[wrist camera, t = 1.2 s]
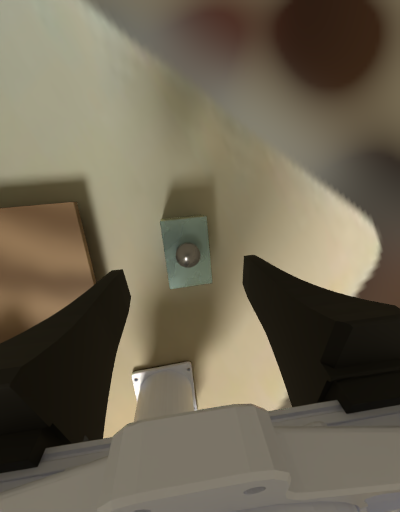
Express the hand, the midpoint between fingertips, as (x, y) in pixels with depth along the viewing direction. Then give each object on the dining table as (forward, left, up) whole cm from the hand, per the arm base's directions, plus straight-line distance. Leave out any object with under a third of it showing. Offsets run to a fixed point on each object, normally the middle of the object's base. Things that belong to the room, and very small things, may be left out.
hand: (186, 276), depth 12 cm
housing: (-1, -1, -12) cm, 12 cm away
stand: (-2, +16, -12) cm, 20 cm away
